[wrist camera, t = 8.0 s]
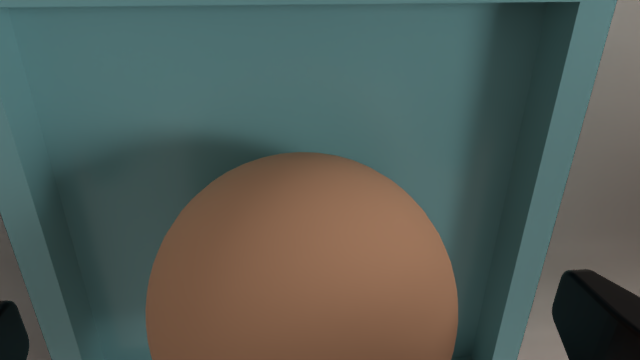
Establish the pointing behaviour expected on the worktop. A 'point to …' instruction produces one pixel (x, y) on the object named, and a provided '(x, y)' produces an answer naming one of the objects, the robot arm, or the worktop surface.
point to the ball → (302, 269)
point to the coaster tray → (284, 136)
